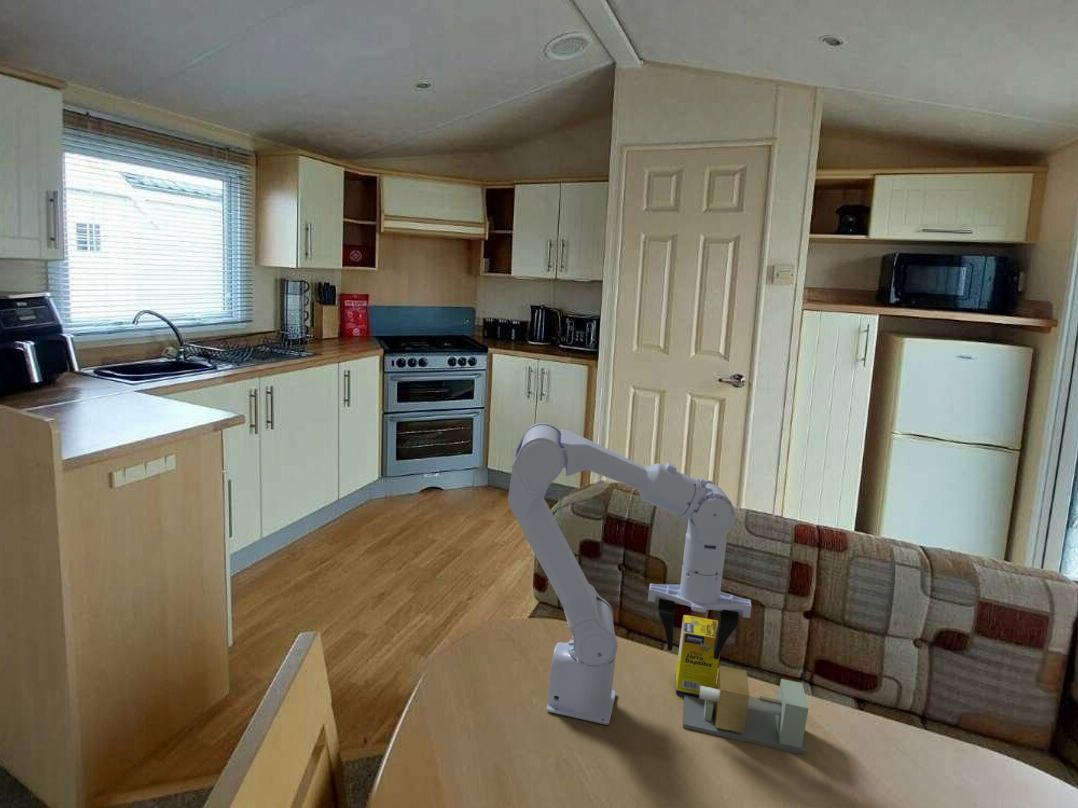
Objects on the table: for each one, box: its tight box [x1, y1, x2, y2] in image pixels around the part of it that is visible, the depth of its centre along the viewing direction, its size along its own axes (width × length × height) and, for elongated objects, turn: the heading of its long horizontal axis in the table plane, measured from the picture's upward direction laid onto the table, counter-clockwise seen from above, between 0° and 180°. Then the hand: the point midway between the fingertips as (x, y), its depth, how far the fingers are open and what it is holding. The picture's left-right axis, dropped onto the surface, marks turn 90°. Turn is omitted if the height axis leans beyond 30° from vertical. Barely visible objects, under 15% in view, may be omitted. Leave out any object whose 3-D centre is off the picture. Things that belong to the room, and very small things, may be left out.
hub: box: [714, 664, 750, 733], centre depth 96 cm, size 4×6×6 cm, turn 166°
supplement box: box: [675, 614, 721, 698], centre depth 104 cm, size 6×6×11 cm
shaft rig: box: [682, 678, 809, 756], centre depth 96 cm, size 17×7×7 cm, turn 76°
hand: (692, 651), depth 97 cm, fingers open, 6 cm apart
